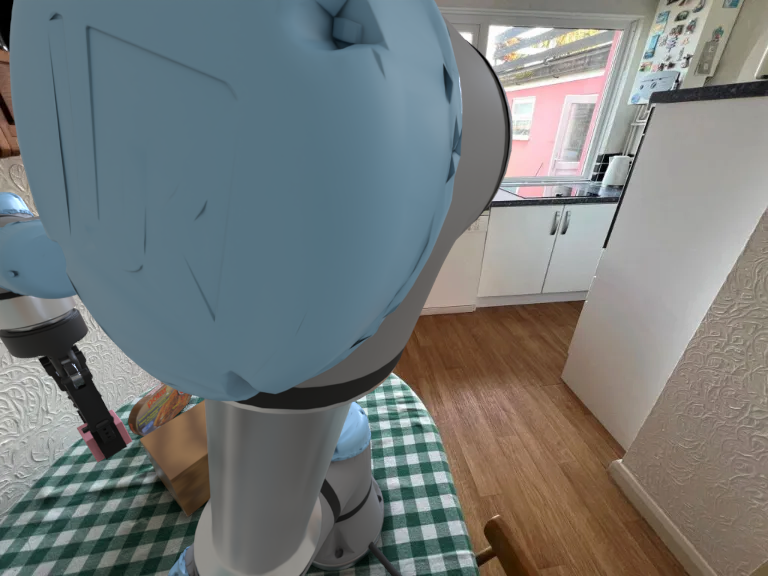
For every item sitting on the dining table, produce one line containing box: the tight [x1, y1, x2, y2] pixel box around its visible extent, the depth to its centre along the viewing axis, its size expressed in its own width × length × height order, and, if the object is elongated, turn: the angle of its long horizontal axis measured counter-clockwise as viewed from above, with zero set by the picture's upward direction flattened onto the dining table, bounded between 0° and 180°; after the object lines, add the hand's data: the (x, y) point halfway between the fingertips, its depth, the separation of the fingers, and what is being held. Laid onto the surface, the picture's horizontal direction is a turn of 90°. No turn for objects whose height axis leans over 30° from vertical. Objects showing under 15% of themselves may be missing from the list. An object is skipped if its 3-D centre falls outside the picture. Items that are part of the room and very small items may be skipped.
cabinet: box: [139, 399, 211, 518], centre depth 60 cm, size 15×13×10 cm
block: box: [76, 409, 133, 463], centre depth 49 cm, size 4×4×4 cm
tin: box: [127, 381, 193, 437], centre depth 71 cm, size 15×3×8 cm, turn 168°
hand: (110, 443), depth 50 cm, fingers closed on block, 4 cm apart
